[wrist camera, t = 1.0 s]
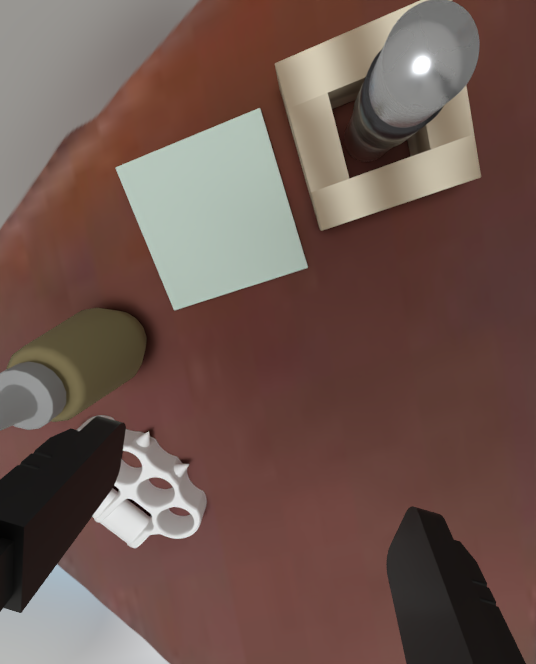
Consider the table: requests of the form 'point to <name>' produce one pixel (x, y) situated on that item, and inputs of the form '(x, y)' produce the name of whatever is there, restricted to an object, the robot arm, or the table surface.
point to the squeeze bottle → (70, 368)
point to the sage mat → (214, 211)
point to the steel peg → (412, 77)
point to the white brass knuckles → (150, 494)
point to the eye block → (323, 141)
